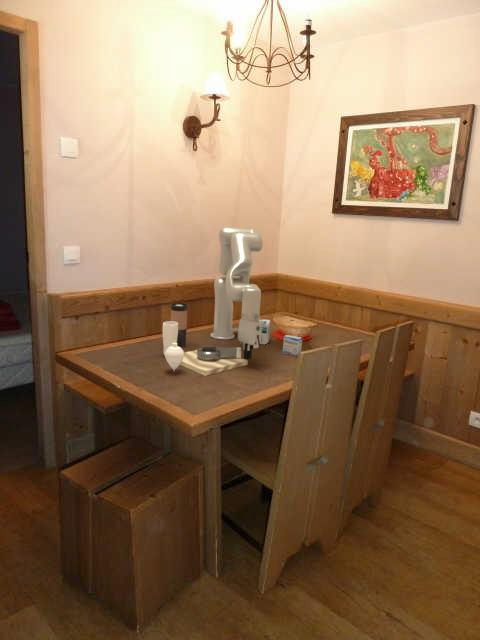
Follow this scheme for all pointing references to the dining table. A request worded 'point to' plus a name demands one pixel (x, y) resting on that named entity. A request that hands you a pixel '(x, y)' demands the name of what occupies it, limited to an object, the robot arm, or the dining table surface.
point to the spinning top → (174, 356)
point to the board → (210, 364)
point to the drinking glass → (169, 334)
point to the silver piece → (217, 353)
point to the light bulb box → (265, 331)
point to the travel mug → (180, 321)
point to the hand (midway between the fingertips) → (247, 358)
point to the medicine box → (292, 344)
